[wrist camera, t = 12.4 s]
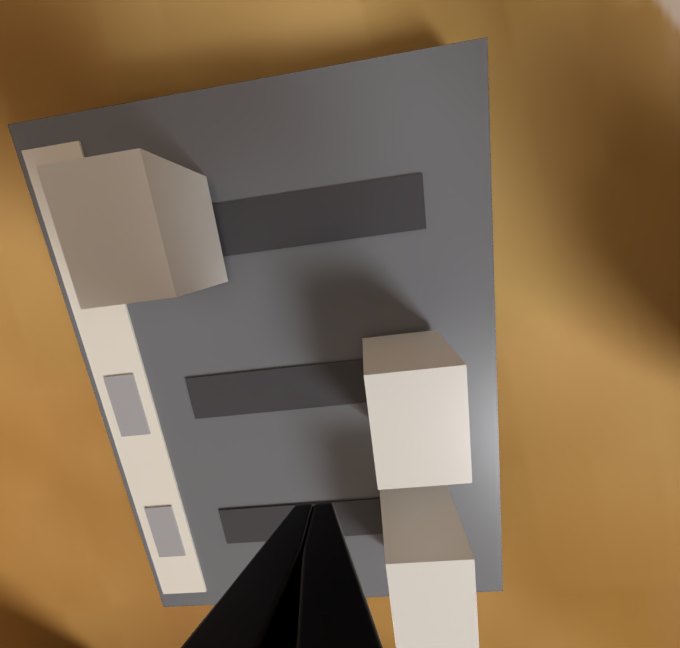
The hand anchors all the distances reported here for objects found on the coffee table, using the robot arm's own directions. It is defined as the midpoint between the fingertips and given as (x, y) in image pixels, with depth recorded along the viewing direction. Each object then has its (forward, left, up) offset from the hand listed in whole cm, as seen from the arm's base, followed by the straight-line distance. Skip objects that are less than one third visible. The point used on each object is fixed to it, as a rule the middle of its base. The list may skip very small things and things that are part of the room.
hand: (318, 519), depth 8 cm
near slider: (+5, -7, -7) cm, 11 cm away
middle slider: (-3, 0, -7) cm, 8 cm away
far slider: (-3, +7, -7) cm, 10 cm away
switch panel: (+2, 0, -10) cm, 10 cm away
